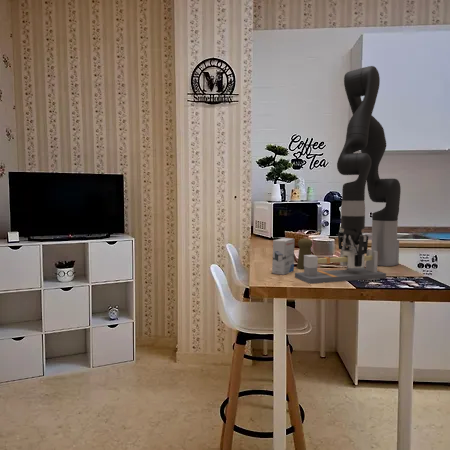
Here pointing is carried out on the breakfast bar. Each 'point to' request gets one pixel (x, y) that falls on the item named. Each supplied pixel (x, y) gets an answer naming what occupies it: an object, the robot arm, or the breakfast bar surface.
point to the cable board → (316, 276)
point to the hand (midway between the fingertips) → (351, 264)
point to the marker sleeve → (350, 258)
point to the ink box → (283, 256)
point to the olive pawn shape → (303, 251)
